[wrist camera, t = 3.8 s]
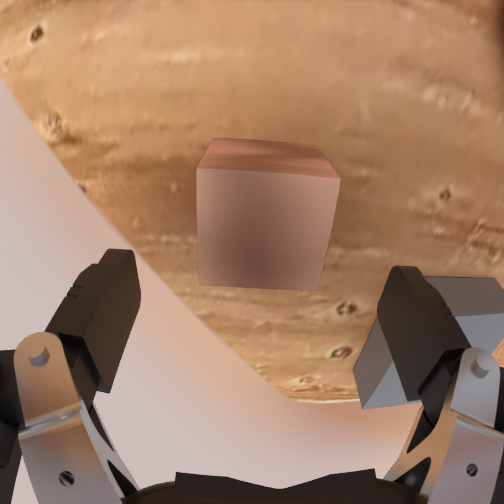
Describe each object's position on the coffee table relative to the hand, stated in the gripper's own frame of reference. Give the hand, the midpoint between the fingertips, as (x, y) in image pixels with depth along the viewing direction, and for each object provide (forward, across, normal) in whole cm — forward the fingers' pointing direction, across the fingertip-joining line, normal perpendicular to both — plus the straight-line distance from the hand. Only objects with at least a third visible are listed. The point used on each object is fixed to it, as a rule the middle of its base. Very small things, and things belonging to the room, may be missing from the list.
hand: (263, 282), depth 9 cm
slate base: (+8, -14, +10) cm, 19 cm away
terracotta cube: (+8, 0, 0) cm, 8 cm away
